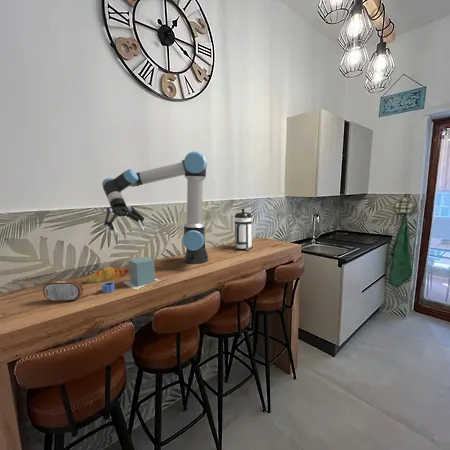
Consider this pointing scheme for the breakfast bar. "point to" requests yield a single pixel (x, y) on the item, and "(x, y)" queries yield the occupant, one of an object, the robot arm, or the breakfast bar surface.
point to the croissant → (105, 275)
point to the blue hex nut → (108, 287)
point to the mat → (134, 285)
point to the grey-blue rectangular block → (142, 271)
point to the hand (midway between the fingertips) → (130, 232)
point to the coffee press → (243, 230)
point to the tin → (63, 290)
